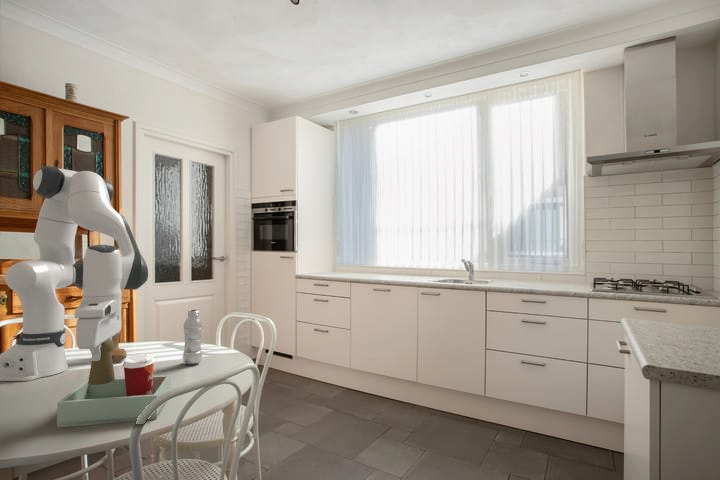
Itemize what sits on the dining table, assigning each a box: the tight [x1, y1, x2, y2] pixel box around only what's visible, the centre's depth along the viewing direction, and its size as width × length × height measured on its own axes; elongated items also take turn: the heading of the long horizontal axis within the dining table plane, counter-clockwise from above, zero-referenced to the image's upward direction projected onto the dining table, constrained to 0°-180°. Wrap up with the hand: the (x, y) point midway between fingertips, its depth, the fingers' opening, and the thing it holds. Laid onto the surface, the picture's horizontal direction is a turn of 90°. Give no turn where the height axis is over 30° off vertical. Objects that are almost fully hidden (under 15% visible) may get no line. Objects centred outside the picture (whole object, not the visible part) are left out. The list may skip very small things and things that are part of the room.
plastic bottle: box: [182, 309, 203, 365], centre depth 144 cm, size 6×7×20 cm
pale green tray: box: [56, 374, 172, 428], centre depth 104 cm, size 22×16×6 cm
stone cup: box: [111, 331, 128, 364], centre depth 148 cm, size 15×12×15 cm
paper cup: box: [122, 353, 156, 396], centre depth 104 cm, size 8×8×14 cm
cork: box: [87, 339, 116, 385], centre depth 103 cm, size 6×6×11 cm
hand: (101, 357), depth 103 cm, fingers closed on cork, 4 cm apart
